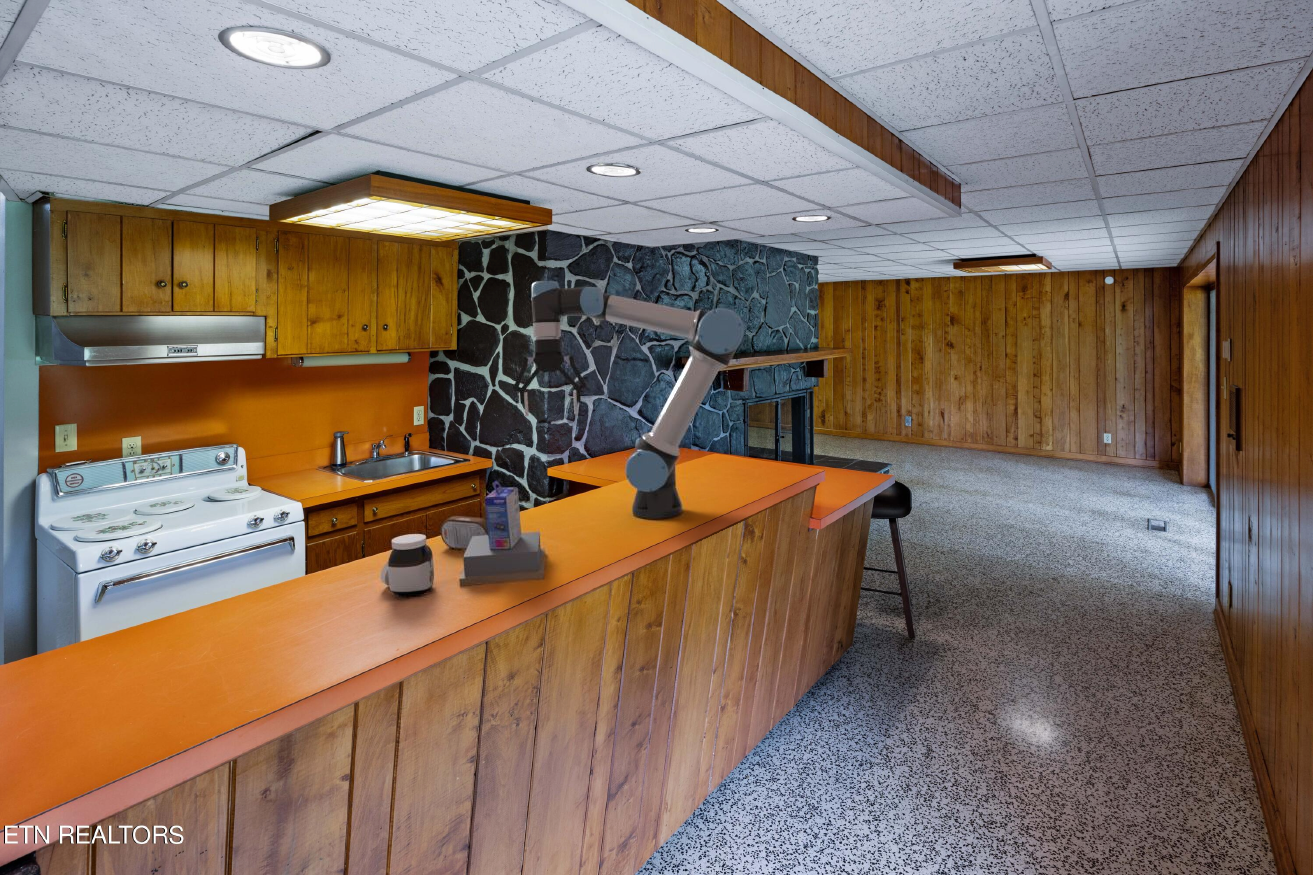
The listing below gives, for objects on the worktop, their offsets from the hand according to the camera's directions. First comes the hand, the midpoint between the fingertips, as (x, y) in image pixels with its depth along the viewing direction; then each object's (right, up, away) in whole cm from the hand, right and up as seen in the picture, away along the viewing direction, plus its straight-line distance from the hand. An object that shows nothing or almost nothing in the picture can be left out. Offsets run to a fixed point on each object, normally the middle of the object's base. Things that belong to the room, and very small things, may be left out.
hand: (551, 414), depth 185 cm
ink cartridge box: (-5, -31, -33) cm, 46 cm away
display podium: (-5, -37, -33) cm, 49 cm away
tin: (-19, -35, -17) cm, 43 cm away
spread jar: (-24, -39, -44) cm, 64 cm away
